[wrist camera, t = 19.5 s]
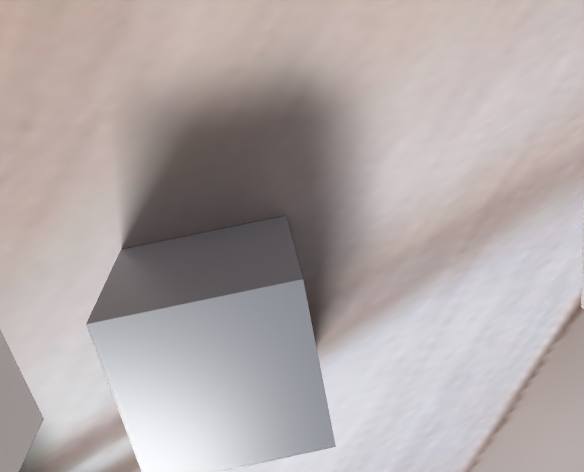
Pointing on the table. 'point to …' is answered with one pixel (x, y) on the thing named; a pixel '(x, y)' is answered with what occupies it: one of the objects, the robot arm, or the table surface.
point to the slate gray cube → (213, 350)
